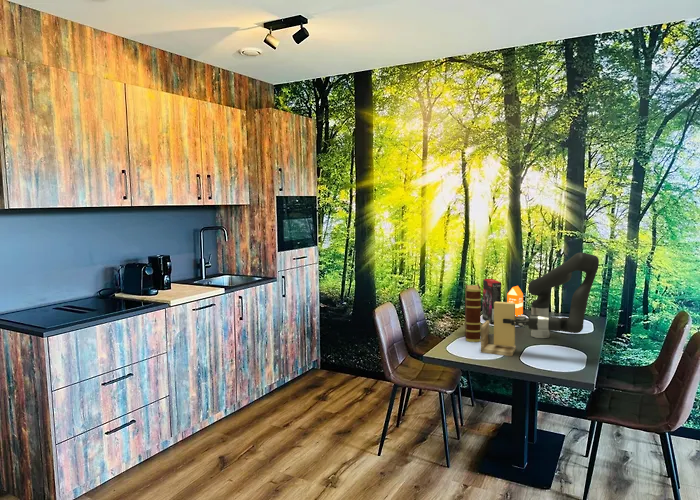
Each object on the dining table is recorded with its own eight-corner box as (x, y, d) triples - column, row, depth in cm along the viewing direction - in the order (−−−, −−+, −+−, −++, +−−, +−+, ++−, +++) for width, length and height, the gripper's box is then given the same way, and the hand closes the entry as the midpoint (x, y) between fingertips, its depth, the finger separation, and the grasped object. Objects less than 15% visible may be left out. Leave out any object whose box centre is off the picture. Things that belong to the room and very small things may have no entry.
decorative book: (480, 342, 267) (481, 289, 265) (466, 341, 269) (466, 289, 266) (478, 332, 289) (478, 283, 287) (464, 331, 291) (465, 282, 288)
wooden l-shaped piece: (516, 349, 254) (516, 323, 253) (511, 356, 242) (512, 329, 240) (486, 345, 261) (486, 320, 260) (480, 352, 249) (481, 326, 247)
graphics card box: (481, 318, 324) (482, 278, 322) (491, 318, 325) (492, 278, 323) (491, 324, 308) (491, 282, 305) (501, 324, 308) (502, 282, 306)
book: (495, 342, 254) (495, 301, 252) (514, 344, 249) (515, 302, 248) (493, 344, 250) (493, 302, 249) (513, 346, 246) (514, 304, 244)
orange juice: (522, 314, 335) (523, 286, 333) (517, 316, 328) (517, 287, 327) (512, 312, 340) (512, 285, 339) (506, 314, 334) (507, 286, 332)
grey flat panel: (509, 345, 254) (510, 336, 254) (509, 346, 252) (509, 336, 252) (488, 342, 259) (488, 333, 259) (487, 343, 257) (488, 334, 257)
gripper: (540, 312, 247) (506, 310, 255) (537, 318, 235) (501, 315, 242) (540, 326, 248) (505, 323, 256) (537, 333, 235) (501, 330, 243)
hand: (503, 319), depth 249 cm, fingers closed on book, 4 cm apart
